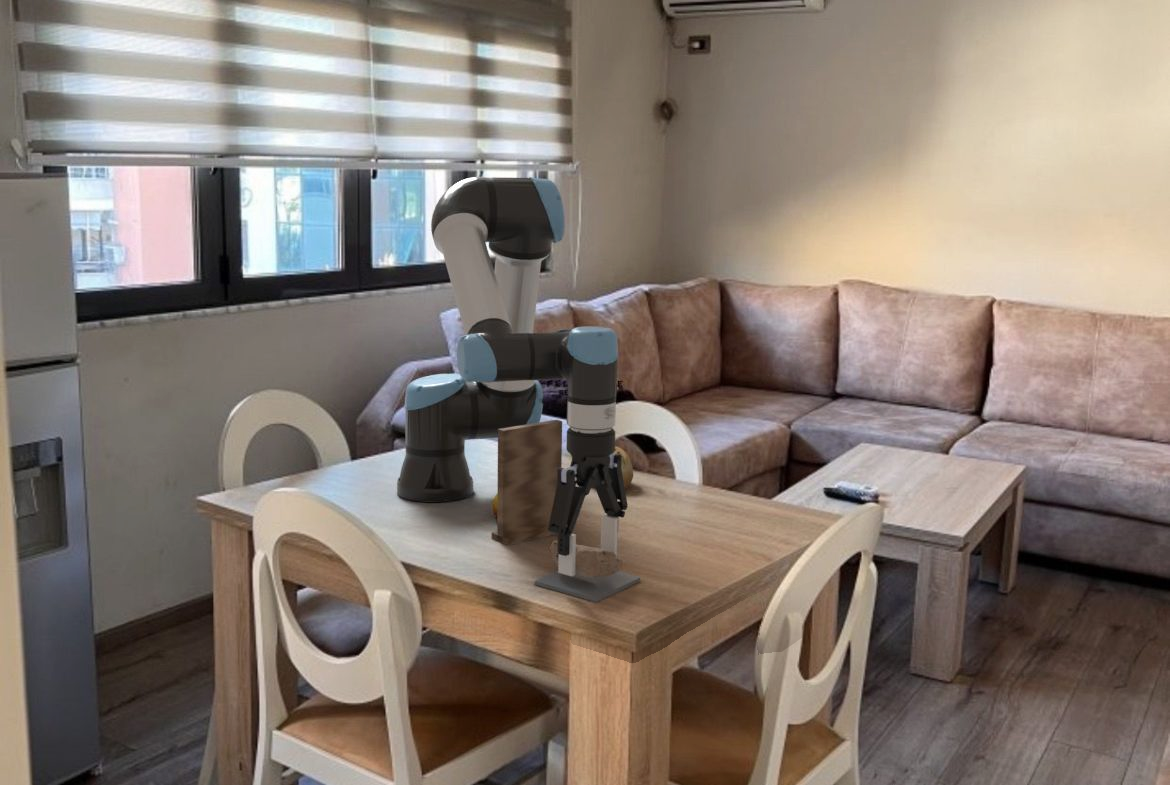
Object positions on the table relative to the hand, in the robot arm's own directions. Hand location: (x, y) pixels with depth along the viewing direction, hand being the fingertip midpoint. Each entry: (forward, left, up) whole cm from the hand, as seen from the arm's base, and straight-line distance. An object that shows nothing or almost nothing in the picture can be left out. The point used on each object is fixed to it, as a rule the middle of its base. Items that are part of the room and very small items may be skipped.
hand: (588, 564), depth 185 cm
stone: (0, -1, -2) cm, 2 cm away
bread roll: (-32, +50, -3) cm, 59 cm away
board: (-22, +13, -3) cm, 26 cm away
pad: (0, 0, -3) cm, 3 cm away
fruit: (-30, +20, -3) cm, 36 cm away
